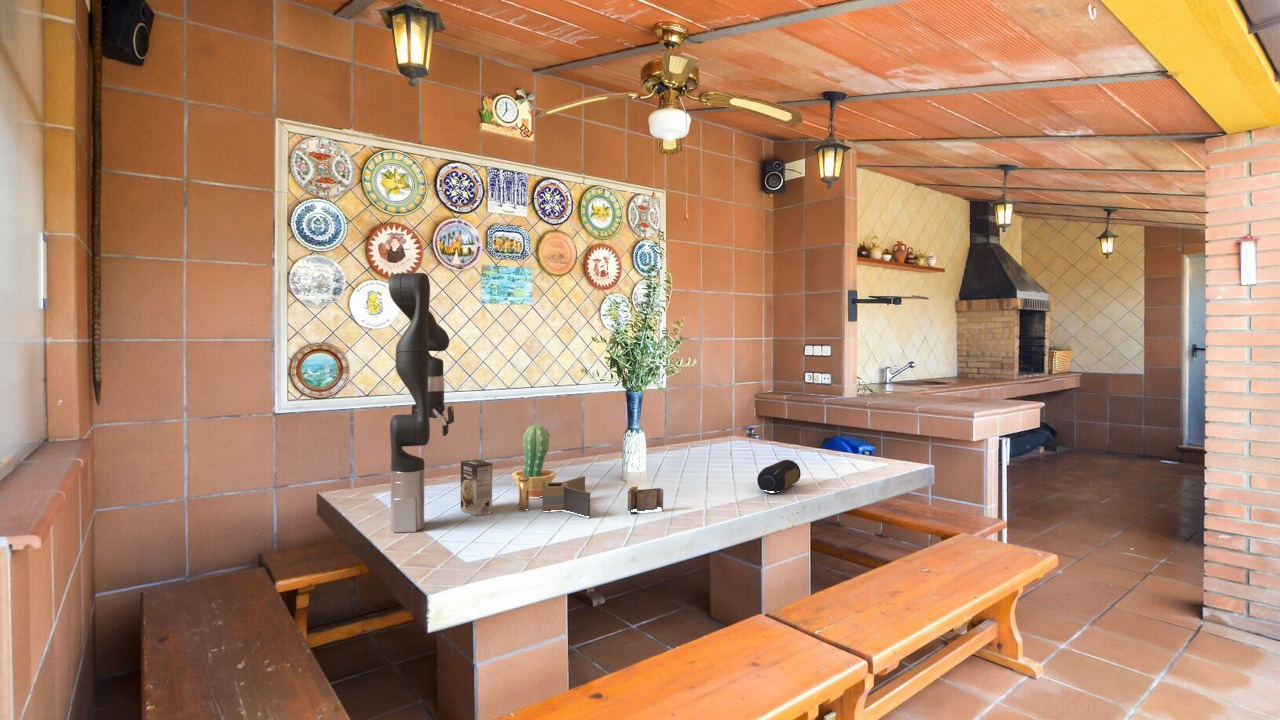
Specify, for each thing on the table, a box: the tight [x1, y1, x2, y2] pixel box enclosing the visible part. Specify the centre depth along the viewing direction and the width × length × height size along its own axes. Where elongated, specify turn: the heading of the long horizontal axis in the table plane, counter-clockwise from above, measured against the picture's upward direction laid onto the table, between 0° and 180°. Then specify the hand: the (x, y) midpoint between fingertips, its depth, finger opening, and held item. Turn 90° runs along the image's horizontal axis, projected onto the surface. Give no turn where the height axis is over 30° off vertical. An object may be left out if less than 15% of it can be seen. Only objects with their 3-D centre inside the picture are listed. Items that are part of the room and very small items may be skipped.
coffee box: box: [460, 459, 493, 516], centre depth 211 cm, size 9×6×16 cm
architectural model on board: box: [627, 485, 664, 512], centre depth 213 cm, size 11×3×10 cm, turn 111°
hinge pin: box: [518, 476, 530, 510], centre depth 214 cm, size 4×4×11 cm
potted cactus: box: [511, 424, 557, 497], centre depth 233 cm, size 15×15×25 cm
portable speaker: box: [757, 459, 802, 492], centre depth 248 cm, size 25×10×10 cm, turn 147°
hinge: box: [541, 475, 591, 517], centre depth 216 cm, size 25×15×8 cm, turn 9°
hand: (432, 434), depth 228 cm, fingers open, 8 cm apart
